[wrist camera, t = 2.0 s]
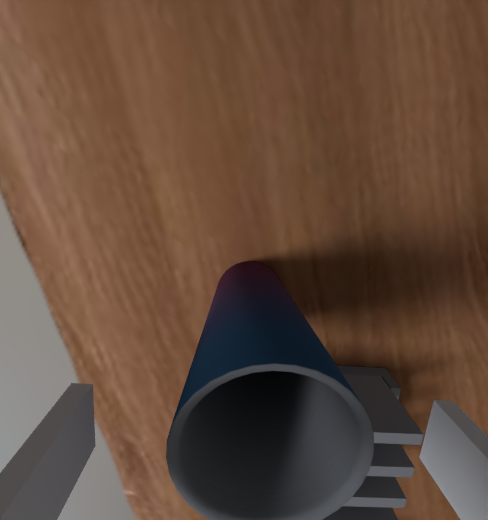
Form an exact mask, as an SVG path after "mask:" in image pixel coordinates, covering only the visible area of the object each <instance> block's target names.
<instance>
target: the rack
mask: <svg viewBox="0 0 488 520" xmlns="http://www.w3.org/2000/svg"><path fill="white" fill-rule="evenodd" d="M337 367H338V368H339V370H340V371H341V373H342V374H343V376H344V377H345V379H346V380H347V382H348V383H349V385H350V386H351V388H352V389H353V391H354V392H355V394H356V395H357V397H358V398H359V400H360V401H361V403H362V405H363V407H364V408H365V410H366V412H367V414H368V416H369V418H370V421H371V425H372V430H373V434H374V454H373V458H372V462H371V466H370V469H369V471H368V473H367V475H366V477H365V479H364V482H363V484H362V485H361V486H360V488H359V489H358V490H357V491H356V493H355V494H354V495H353V497H352V498H351V499H350V500H349V501H347V502H346V503H345V504H344V505H343V506H342V507H341V508H340V509H338V510H337V511H335V512H334V513H332V514H331V515H329V516H327V517H326V518H324V519H322V520H398V519H397V517H396V515H395V513H394V510H393V508H404V506H405V502H406V497H405V495H404V493H403V491H402V490H401V488H400V486H399V484H398V482H397V480H396V478H395V477H412V476H413V472H414V469H415V467H414V466H413V464H412V462H411V461H410V459H409V457H408V456H407V454H406V453H405V451H404V449H403V448H402V446H401V445H400V444H412V445H421V442H422V439H423V435H424V434H423V433H422V431H421V430H420V429H419V427H418V426H417V425H416V423H415V422H414V421H413V419H412V418H411V416H410V415H409V414H408V412H407V411H406V410H405V408H404V407H403V406H402V404H401V403H400V401H399V396H400V392H401V388H400V386H399V385H398V384H397V383H396V381H395V380H394V379H393V377H392V376H391V375H390V374H389V372H388V371H387V370H386V369H385V368H376V367H356V366H337Z"/></svg>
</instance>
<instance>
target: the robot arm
mask: <svg viewBox="0 0 488 520" xmlns="http://www.w3.org/2000/svg"><path fill="white" fill-rule="evenodd" d="M94 447H95V427H94V403H93V384H77V383H71V385H70V386H69V387H68V388H67V390H66V391H65V392H64V394H63V395H62V396H61V397H60V399H59V400H58V401H57V402H56V404H55V405H54V406H53V407H52V409H51V410H50V411H49V412H48V414H47V415H46V416H45V418H44V419H43V420H42V421H41V423H40V424H39V425H38V426H37V428H36V429H35V430H34V431H33V433H32V434H31V435H30V436H29V438H28V439H27V440H26V442H25V443H24V444H23V445H22V447H21V448H20V449H19V450H18V452H17V453H16V454H15V455H14V457H13V458H12V459H11V460H10V462H9V463H8V464H7V465H6V467H5V468H4V469H3V470H2V472H1V473H0V520H57V518H58V517H59V515H60V513H61V511H62V509H63V507H64V505H65V503H66V501H67V499H68V497H69V495H70V493H71V491H72V490H73V488H74V486H75V484H76V482H77V480H78V478H79V476H80V474H81V472H82V470H83V468H84V466H85V464H86V463H87V461H88V459H89V457H90V455H91V453H92V451H93V449H94ZM419 458H420V459H421V461H422V462H423V464H424V465H425V467H426V468H427V470H428V471H429V473H430V474H431V476H432V477H433V479H434V480H435V482H436V483H437V485H438V486H439V488H440V489H441V491H442V492H443V494H444V495H445V497H446V498H447V500H448V501H449V503H450V504H451V506H452V507H453V509H454V510H455V512H456V513H457V515H458V516H459V518H460V519H461V520H488V436H487V435H486V434H485V433H484V432H483V431H482V430H481V429H480V428H479V427H478V426H477V425H476V424H475V423H474V422H473V421H472V420H471V419H470V418H469V417H468V416H467V415H466V414H465V413H464V412H463V411H462V410H461V409H460V408H459V407H458V406H457V405H456V404H455V403H454V402H453V401H443V400H434V402H433V406H432V410H431V414H430V418H429V422H428V426H427V430H426V433H425V437H424V441H423V445H422V449H421V453H420V457H419Z"/></svg>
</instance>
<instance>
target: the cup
mask: <svg viewBox="0 0 488 520" xmlns="http://www.w3.org/2000/svg"><path fill="white" fill-rule="evenodd" d="M373 454H374V434H373V430H372V425H371V421H370V418H369V416H368V414H367V412H366V410H365V408H364V407H363V405H362V403H361V401H360V400H359V398H358V397H357V395H356V394H355V392H354V391H353V389H352V388H351V386H350V385H349V383H348V382H347V380H346V379H345V377H344V376H343V374H342V373H341V371H340V370H339V368H338V367H337V365H336V364H335V362H334V361H333V359H332V358H331V356H330V355H329V353H328V352H327V350H326V349H325V347H324V346H323V344H322V343H321V341H320V340H319V338H318V337H317V335H316V334H315V332H314V331H313V329H312V328H311V326H310V325H309V323H308V322H307V320H306V319H305V317H304V316H303V314H302V313H301V311H300V310H299V308H298V307H297V305H296V304H295V302H294V301H293V299H292V298H291V296H290V295H289V293H288V292H287V290H286V289H285V287H284V286H283V284H282V283H281V281H280V280H279V278H278V277H277V275H276V274H275V273H274V272H273V271H272V270H271V269H270V268H269V267H267V266H265V265H263V264H261V263H257V262H242V263H239V264H236V265H234V266H232V267H231V268H229V269H228V270H227V271H226V272H225V273H224V274H223V275H222V277H221V279H220V281H219V283H218V286H217V289H216V292H215V295H214V298H213V301H212V304H211V307H210V310H209V313H208V316H207V320H206V323H205V326H204V329H203V332H202V335H201V338H200V341H199V344H198V347H197V350H196V353H195V356H194V359H193V362H192V365H191V368H190V371H189V374H188V377H187V380H186V383H185V386H184V389H183V392H182V395H181V398H180V401H179V404H178V407H177V410H176V413H175V416H174V419H173V422H172V425H171V429H170V432H169V435H168V439H167V452H166V459H167V464H168V469H169V474H170V476H171V478H172V481H173V483H174V485H175V487H176V489H177V491H178V492H179V493H180V494H181V496H182V497H183V498H184V500H185V501H186V502H187V503H188V504H189V505H190V506H191V507H192V508H194V509H195V510H196V511H197V512H198V513H199V514H201V515H203V516H204V517H206V518H208V519H210V520H322V519H324V518H326V517H327V516H329V515H331V514H332V513H334V512H335V511H337V510H338V509H340V508H341V507H342V506H343V505H344V504H345V503H346V502H347V501H349V500H350V499H351V498H352V497H353V495H354V494H355V493H356V491H357V490H358V489H359V488H360V486H361V485H362V484H363V482H364V479H365V477H366V475H367V473H368V471H369V469H370V466H371V462H372V458H373Z"/></svg>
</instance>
